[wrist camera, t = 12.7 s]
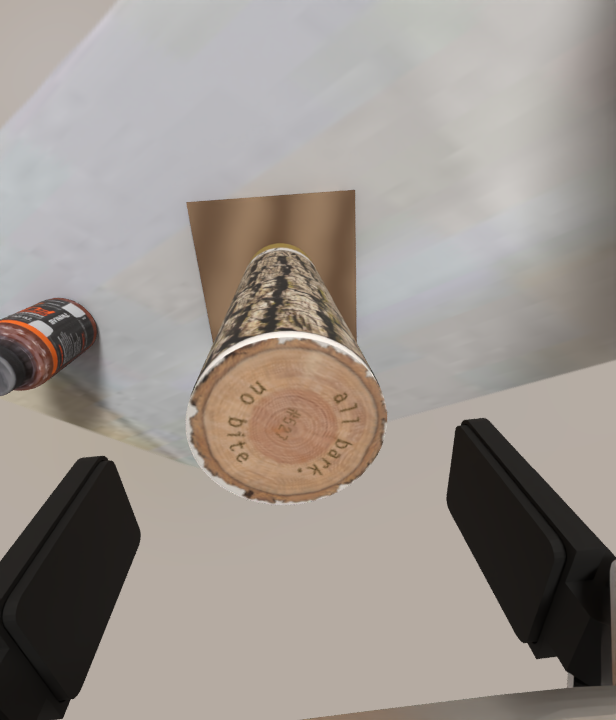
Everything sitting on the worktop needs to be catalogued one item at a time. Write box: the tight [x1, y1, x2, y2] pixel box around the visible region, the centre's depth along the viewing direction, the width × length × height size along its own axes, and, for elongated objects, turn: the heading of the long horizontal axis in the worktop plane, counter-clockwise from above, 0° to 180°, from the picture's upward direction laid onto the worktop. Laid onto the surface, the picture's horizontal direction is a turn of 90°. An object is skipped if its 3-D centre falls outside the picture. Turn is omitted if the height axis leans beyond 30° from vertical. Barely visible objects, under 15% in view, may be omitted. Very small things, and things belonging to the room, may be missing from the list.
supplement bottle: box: [0, 298, 97, 396], centre depth 31 cm, size 6×6×11 cm
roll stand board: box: [186, 190, 357, 343], centre depth 35 cm, size 15×15×2 cm
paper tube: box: [186, 243, 387, 505], centre depth 23 cm, size 7×7×25 cm
